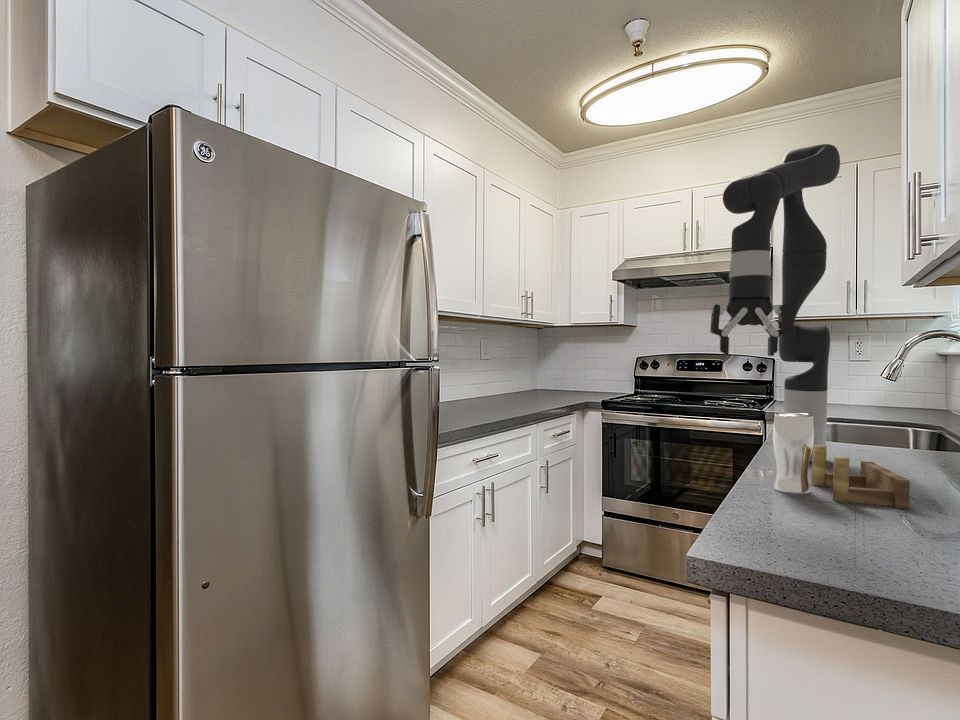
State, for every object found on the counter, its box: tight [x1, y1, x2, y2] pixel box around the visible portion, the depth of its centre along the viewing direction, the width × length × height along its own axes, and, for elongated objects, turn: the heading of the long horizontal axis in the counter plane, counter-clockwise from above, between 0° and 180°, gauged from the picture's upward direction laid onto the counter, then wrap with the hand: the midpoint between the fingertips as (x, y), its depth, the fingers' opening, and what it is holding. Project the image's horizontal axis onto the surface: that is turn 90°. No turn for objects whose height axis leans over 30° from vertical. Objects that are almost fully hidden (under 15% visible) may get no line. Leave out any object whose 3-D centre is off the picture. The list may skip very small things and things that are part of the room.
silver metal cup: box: [772, 411, 814, 495], centre depth 107 cm, size 7×7×15 cm
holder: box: [811, 445, 911, 510], centre depth 104 cm, size 15×11×8 cm
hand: (747, 355), depth 111 cm, fingers open, 8 cm apart
